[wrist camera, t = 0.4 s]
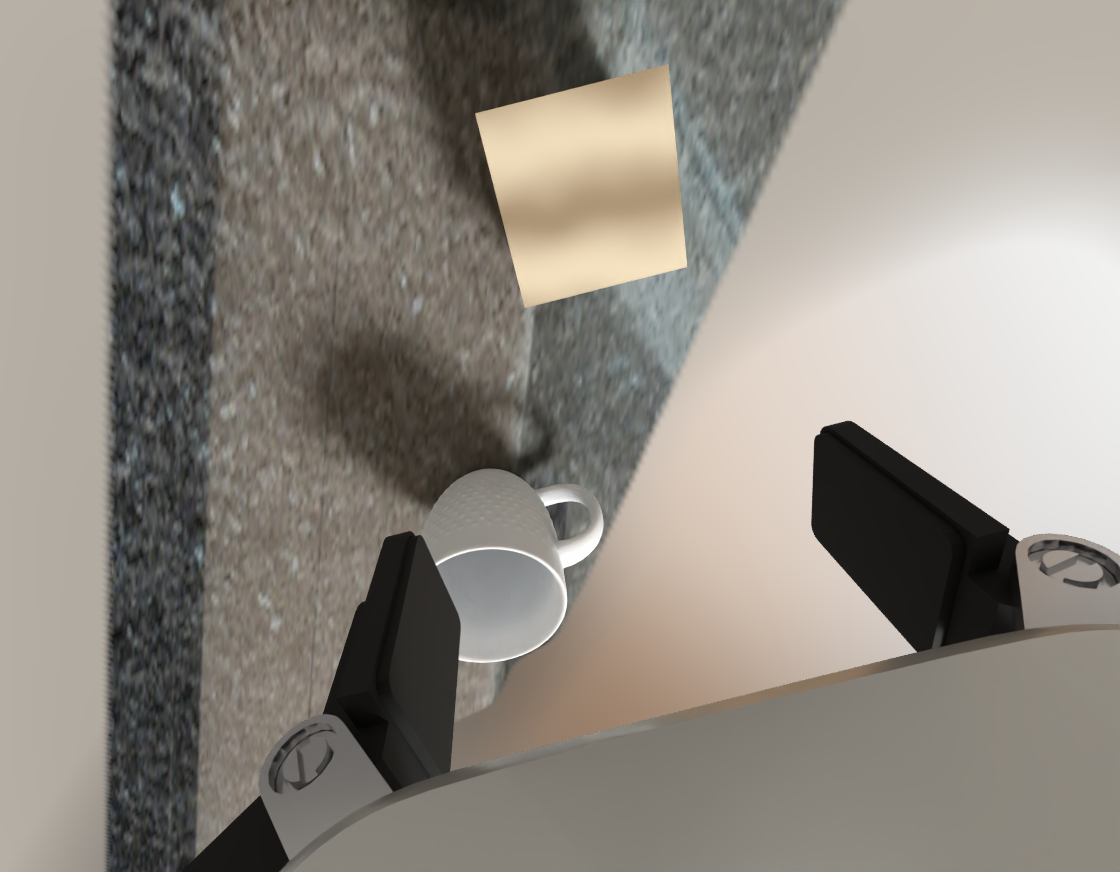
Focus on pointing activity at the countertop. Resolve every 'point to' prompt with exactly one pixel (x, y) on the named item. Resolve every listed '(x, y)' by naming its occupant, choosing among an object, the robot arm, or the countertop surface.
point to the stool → (588, 185)
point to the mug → (505, 560)
